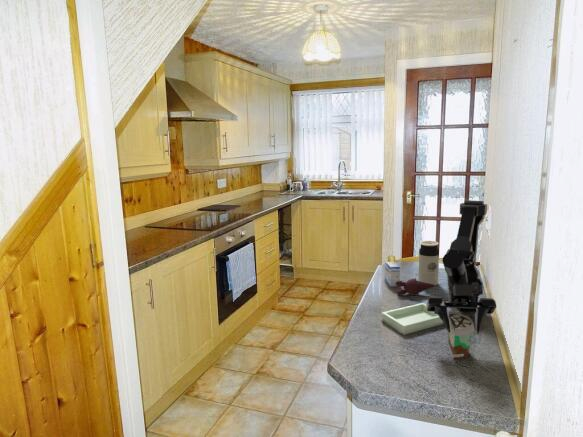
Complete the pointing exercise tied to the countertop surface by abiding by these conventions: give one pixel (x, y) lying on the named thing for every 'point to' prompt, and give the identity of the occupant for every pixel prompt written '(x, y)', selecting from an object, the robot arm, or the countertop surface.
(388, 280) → the medicine box
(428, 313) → the tray
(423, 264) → the travel mug
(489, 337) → the countertop surface
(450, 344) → the food container
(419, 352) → the countertop surface
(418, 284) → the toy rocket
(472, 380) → the countertop surface
